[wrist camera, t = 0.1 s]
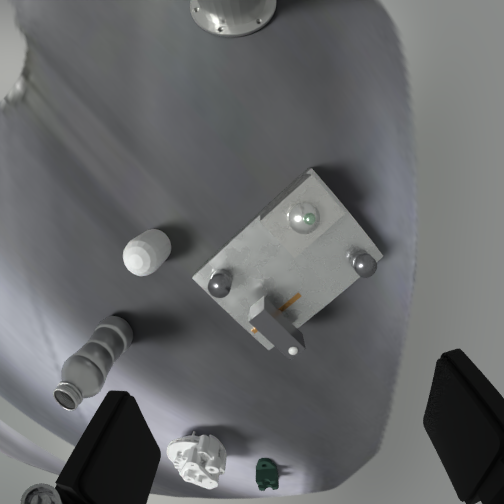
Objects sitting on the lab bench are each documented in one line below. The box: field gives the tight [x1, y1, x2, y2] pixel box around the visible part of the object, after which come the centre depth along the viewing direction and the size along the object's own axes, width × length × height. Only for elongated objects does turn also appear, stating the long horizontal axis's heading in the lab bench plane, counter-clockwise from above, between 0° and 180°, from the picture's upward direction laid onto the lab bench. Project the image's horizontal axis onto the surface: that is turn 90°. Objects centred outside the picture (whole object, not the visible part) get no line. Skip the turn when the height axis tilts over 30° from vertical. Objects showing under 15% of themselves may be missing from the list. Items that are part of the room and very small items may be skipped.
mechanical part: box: [167, 431, 227, 489], centre depth 51 cm, size 11×12×12 cm
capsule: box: [123, 229, 171, 276], centre depth 42 cm, size 5×5×8 cm
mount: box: [256, 458, 279, 491], centre depth 57 cm, size 11×4×5 cm, turn 11°
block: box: [249, 296, 306, 360], centre depth 41 cm, size 8×3×6 cm, turn 43°
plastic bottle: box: [53, 316, 133, 411], centre depth 40 cm, size 6×7×20 cm
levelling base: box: [192, 168, 383, 350], centre depth 41 cm, size 16×22×10 cm
